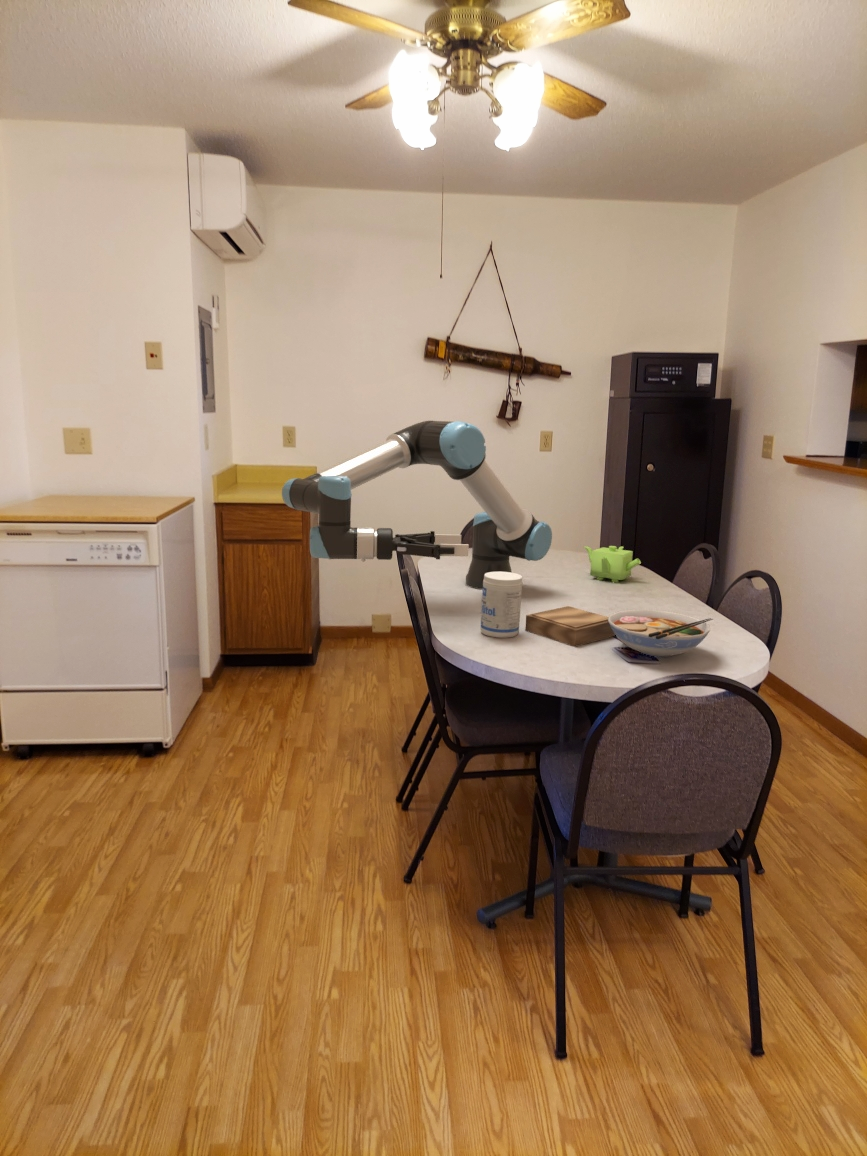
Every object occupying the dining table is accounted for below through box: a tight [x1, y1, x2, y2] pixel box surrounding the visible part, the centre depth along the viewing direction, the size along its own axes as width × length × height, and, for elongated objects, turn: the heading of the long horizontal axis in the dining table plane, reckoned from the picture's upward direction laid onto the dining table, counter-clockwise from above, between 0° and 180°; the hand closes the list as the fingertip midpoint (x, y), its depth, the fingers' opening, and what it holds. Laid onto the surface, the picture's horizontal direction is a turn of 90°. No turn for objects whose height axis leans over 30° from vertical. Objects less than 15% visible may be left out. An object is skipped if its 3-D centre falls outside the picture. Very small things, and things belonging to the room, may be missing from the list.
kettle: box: [582, 545, 642, 584], centre depth 254 cm, size 15×14×11 cm
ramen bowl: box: [608, 609, 714, 658], centre depth 178 cm, size 25×23×8 cm
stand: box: [524, 605, 615, 647], centre depth 192 cm, size 16×16×4 cm
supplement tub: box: [480, 572, 523, 639], centre depth 189 cm, size 10×10×15 cm
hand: (464, 545), depth 185 cm, fingers open, 13 cm apart
